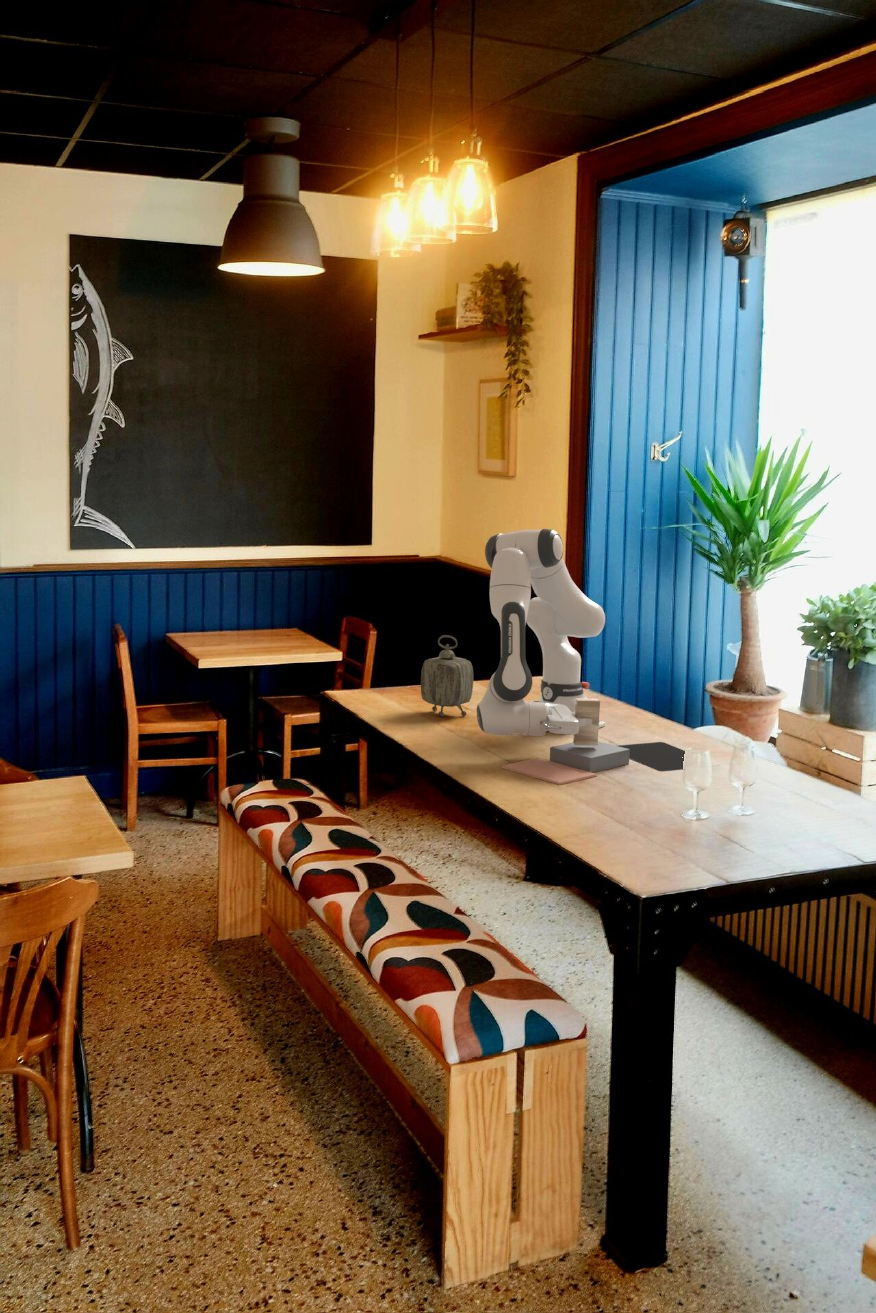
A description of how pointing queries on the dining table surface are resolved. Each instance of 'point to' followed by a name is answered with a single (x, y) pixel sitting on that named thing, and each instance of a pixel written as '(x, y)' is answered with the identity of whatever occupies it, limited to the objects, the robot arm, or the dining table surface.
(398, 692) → the dining table surface
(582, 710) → the birch plaque
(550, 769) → the terracotta mat
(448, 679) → the tabletop clock
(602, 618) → the robot arm
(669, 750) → the tablet
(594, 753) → the block
